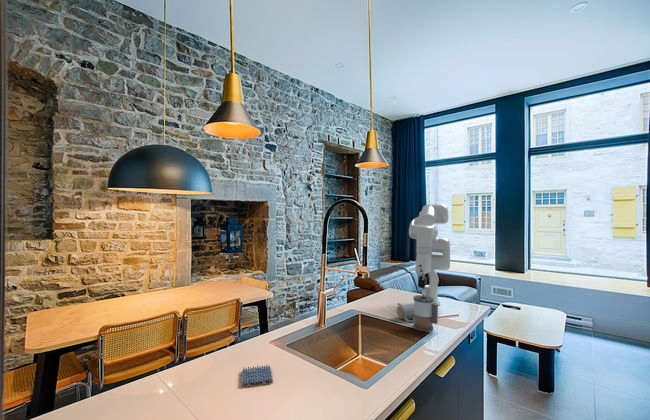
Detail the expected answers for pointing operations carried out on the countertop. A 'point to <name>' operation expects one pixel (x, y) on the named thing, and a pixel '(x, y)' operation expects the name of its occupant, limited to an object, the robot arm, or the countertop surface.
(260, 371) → the blue-grey spiked square pad
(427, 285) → the plunger
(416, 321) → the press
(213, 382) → the countertop surface
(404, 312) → the ceramic mug
